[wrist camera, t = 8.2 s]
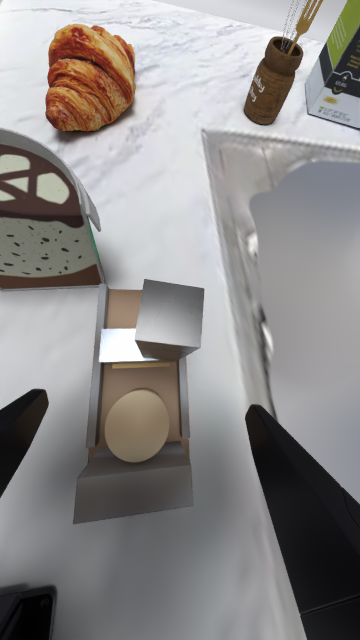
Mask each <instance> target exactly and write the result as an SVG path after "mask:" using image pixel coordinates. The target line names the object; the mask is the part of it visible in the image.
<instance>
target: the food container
mask: <svg viewBox="0 0 360 640" xmlns="http://www.w3.org/2000/svg"><path fill="white" fill-rule="evenodd" d="M88 217H89V218H90V220H91V221H92V223H93V224H94V226H95V227H96V229H97V230H98V232H100V231H101V227H100V220H99V217H98V213H97V210H96V208H95V206H94V204H93V202H92V200H91V199H90V197H89V195H88V193H87V192H86V190H85V188H84V187H83V185H82V183H81V182H80V180H79V179H78V177H77V176H76V175H75V174H74V172H73V171H72V170H71V169H70V168H69V167H68V166H67V165H66V163H65V162H64V161H63V160H62V159H61V158H60V157H59V156H58V155H57V154H56V153H55V152H53V151H52V150H51V149H49V148H48V147H46V146H45V145H43V144H42V143H40V142H38V141H36V140H34V139H32V138H30V137H28V136H26V135H23V134H20V133H17V132H15V131H12V130H8V129H4V128H0V290H1V291H25V290H48V289H70V288H93V287H99V285H100V283H101V284H105V280H104V275H103V271H102V267H101V263H100V260H99V256H98V252H97V248H96V245H95V241H94V237H93V233H92V230H91V226H90V222H89V218H88Z"/></svg>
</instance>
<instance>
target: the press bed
mask: <svg viewBox="0 0 360 640" xmlns="http://www.w3.org/2000/svg"><path fill="white" fill-rule="evenodd" d="M142 291H143V290H115V289H109V288H108V286H107V284H101V283H100V285H99V297H98V309H97V321H96V333H95V345H94V357H93V369H92V380H91V392H90V404H89V416H88V428H87V440H86V448H89V456H88V464H87V466H86V467H85V468H84V470H83V471H82V473H81V474H80V475H79V477H78V478H77V487H76V498H75V509H74V519H73V524H78V523H85V522H91V521H98V520H104V519H111V518H117V517H124V516H130V515H137V514H143V513H150V512H156V511H163V510H169V509H176V508H182V507H189V506H193V496H192V476H191V464H190V459H189V439H188V438H190V431H189V411H188V391H187V371H186V356H185V357H183V358H181V359H179V360H178V361H176V362H163V363H134V364H105V363H101V362H99V356H100V343H101V330H102V329H136V326H137V320H138V314H139V308H140V302H141V296H142ZM137 388H149V389H151V390H154V391H155V392H156V393H158V394H159V396H160V397H161V398H162V400H163V402H164V405H165V407H166V409H167V412H168V415H169V432H168V436H167V438H166V441H165V443H164V445H163V446H162V447H161V449H160V450H159V451H158V452H157V453H156V454H155V455H154V456H152V457H151V458H149V459H147V460H144V461H141V462H127V461H124V460H121V459H120V458H118V457H117V456H115V455H114V454H113V453H112V451H111V450H110V448H109V447H108V444H107V442H106V438H105V422H106V418H107V416H108V413H109V411H110V410H111V408H112V407H113V405H114V404H115V403H116V402H117V401H118V400H119V399H120V398H122V397H123V396H124V395H126V394H127V393H128V392H130V391H132V390H134V389H137Z"/></svg>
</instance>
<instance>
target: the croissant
mask: <svg viewBox="0 0 360 640" xmlns="http://www.w3.org/2000/svg"><path fill="white" fill-rule="evenodd" d="M48 55H49V67H50V68H49V72H48V77H47V78H48V84H49V87H50V88H49V89H48V92H47V95H46V118H47V119H48V121H49V122H50V123H51V124H52V126H53V127H54V128H57V129H59V130H61V129H62V130H63V131H73V130H81V131H87V132H88V131H94V130H98V129H99V128H100V127H101V126H103V125H105V124H109V123H112V122H114V121H115V120H116V119H117V118H118V117H119V116H120V114H122V113H123V112H124V111H125V110H126V109H127V108H128V106H130V105H131V103H132V101H133V100H134V94H135V83H134V75H135V69H134V65H135V53H134V50H133V47H132V45H131V44H128V45H127V43H126V42H125V41H124V40H123V39H122V38H121V37H120V36H118V35H114V36H112V35H111V34H110V33H109V32H108V31H106V30H105V29H104V28H102V27H98V26H93V27H91V28H89V27H88V26H85V25H82V24H73V25H68V26H66V27H64V28H62V29H60V30H58V31H57V32H56V33H55V38H54V40H53V41H52V42H51V44H50V47H49V53H48Z"/></svg>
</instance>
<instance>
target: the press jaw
mask: <svg viewBox="0 0 360 640" xmlns="http://www.w3.org/2000/svg"><path fill="white" fill-rule="evenodd" d="M203 301H204V288H198V287H192V286H185V285H179V284H172V283H166V282H160V281H153V280H147V279H144V285H143V291H142V296H141V302H140V308H139V314H138V320H137V326H136V329H102V330H101V343H100V356H99V362H101V363H105V364H134V363H163V362H176V361H178V360H179V359H181V358H183V357H185V356H187V355H188V354H190V353H192V352H194V351H195V350H197V349H199V348H201V333H202V317H203Z"/></svg>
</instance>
